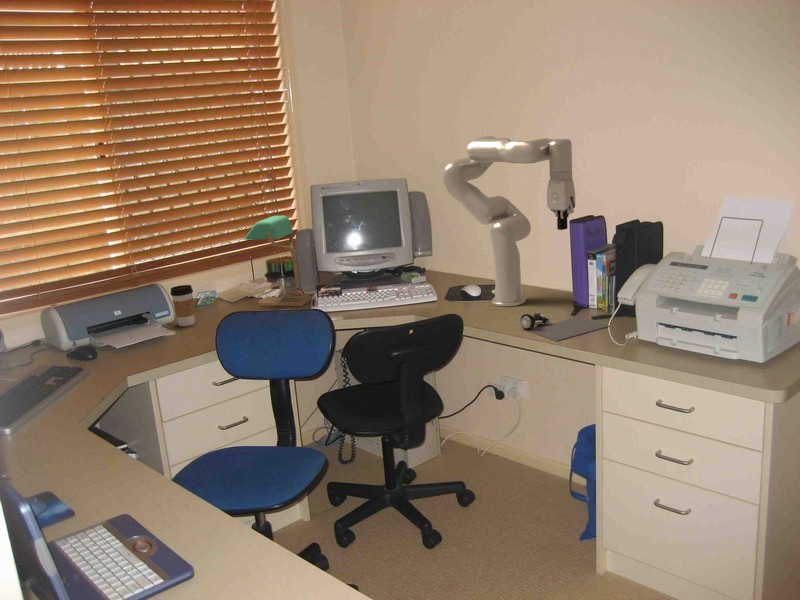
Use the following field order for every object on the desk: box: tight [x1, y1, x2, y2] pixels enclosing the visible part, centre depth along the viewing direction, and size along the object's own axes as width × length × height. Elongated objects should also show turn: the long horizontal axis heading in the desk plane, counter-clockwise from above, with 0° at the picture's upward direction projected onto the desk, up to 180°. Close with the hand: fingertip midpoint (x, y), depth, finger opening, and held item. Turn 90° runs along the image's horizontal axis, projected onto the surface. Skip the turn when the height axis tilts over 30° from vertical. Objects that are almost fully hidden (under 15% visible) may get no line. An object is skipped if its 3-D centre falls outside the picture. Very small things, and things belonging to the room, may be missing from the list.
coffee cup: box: [169, 284, 196, 327], centre depth 297 cm, size 8×8×15 cm
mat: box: [527, 316, 610, 342], centre depth 255 cm, size 14×22×1 cm, turn 119°
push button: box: [519, 312, 553, 331], centre depth 259 cm, size 7×5×10 cm
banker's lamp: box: [243, 215, 311, 307], centre depth 314 cm, size 16×21×35 cm
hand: (562, 229), depth 269 cm, fingers closed
